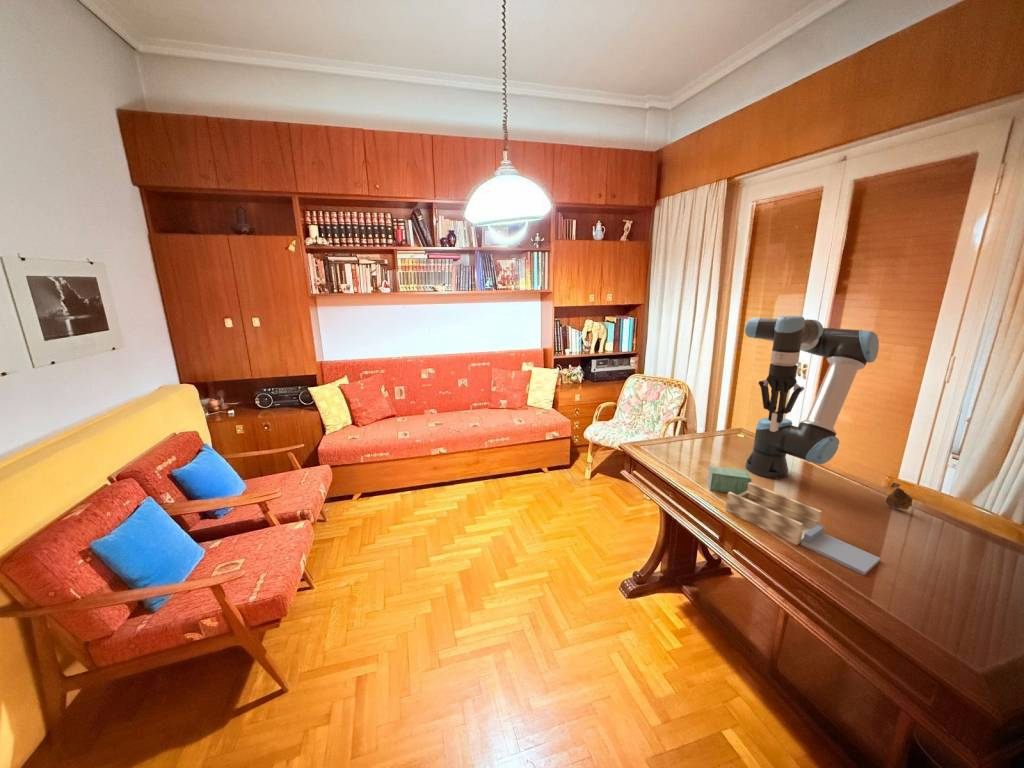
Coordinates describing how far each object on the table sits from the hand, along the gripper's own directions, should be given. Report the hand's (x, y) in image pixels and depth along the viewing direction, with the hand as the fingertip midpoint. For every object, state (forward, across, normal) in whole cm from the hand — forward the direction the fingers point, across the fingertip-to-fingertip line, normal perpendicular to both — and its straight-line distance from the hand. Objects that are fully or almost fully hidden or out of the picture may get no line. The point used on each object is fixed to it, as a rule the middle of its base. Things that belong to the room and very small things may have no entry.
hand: (773, 430), depth 132 cm
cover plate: (+28, +26, -12) cm, 40 cm away
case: (+27, +7, -11) cm, 30 cm away
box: (+28, -12, -1) cm, 31 cm away
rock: (+29, +27, +34) cm, 52 cm away
